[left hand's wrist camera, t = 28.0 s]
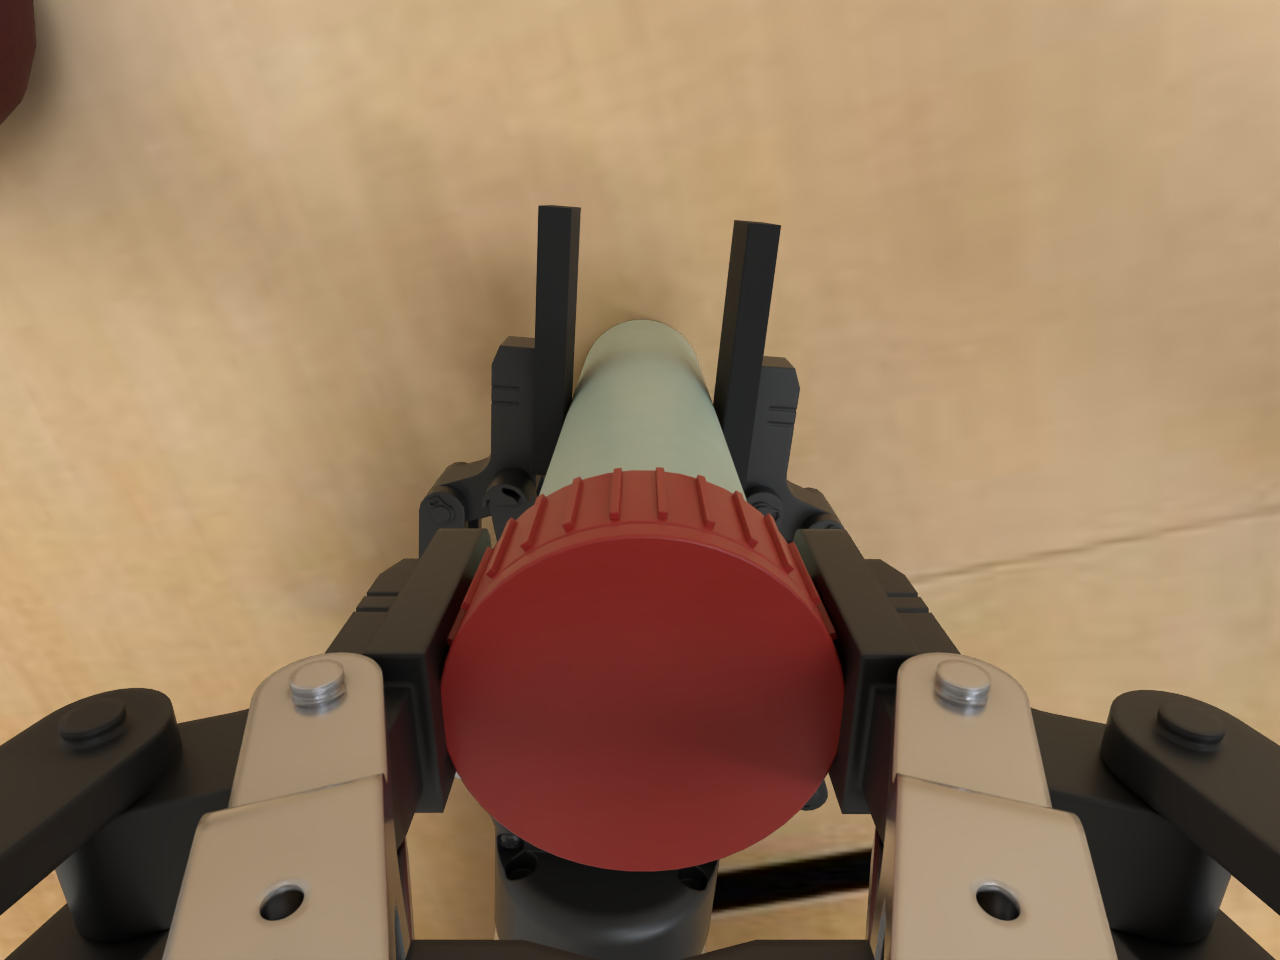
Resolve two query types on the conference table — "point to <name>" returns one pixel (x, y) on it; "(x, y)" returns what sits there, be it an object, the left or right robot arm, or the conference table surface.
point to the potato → (15, 52)
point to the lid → (642, 675)
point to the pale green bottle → (641, 412)
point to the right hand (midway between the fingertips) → (658, 216)
